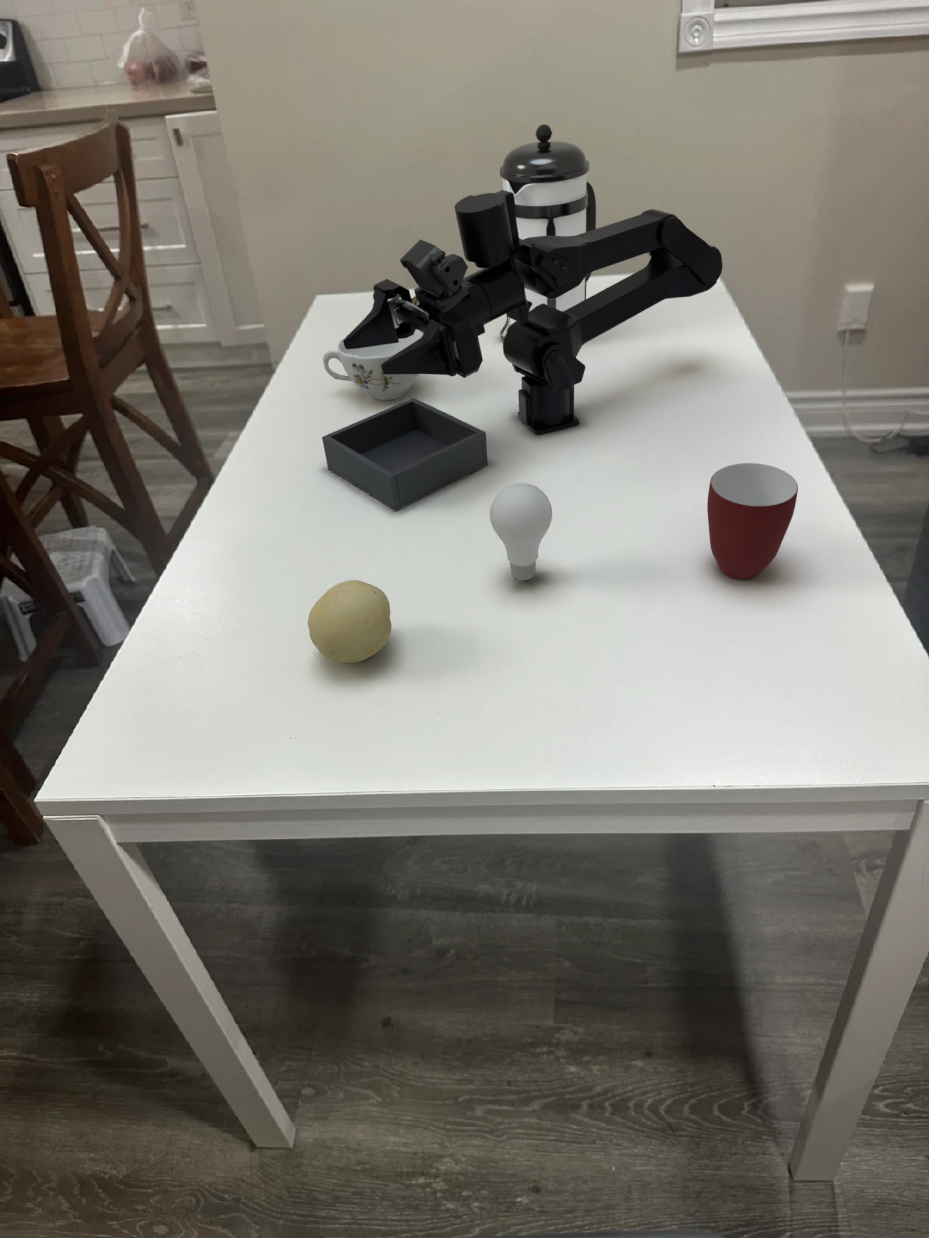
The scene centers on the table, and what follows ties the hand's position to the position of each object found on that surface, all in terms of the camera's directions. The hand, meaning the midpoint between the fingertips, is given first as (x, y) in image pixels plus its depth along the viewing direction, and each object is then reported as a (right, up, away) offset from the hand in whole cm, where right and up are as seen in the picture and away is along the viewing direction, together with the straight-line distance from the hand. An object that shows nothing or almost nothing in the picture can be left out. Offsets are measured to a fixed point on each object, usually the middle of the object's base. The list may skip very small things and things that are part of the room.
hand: (362, 357), depth 97 cm
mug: (+40, -23, -7) cm, 47 cm away
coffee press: (+25, +17, +44) cm, 53 cm away
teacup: (-1, +4, +31) cm, 31 cm away
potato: (+1, -33, -14) cm, 36 cm away
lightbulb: (+18, -25, -7) cm, 31 cm away
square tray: (+4, -10, +13) cm, 17 cm away
